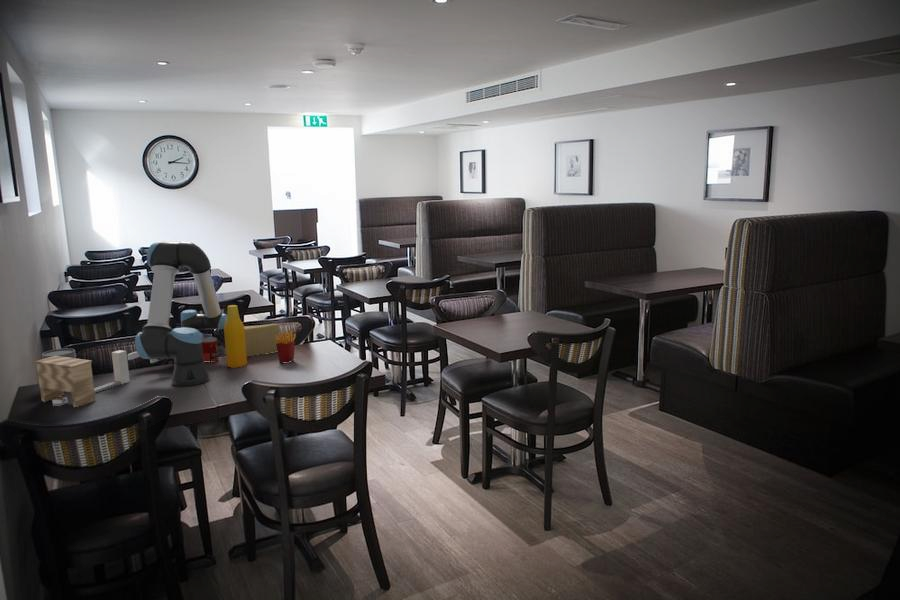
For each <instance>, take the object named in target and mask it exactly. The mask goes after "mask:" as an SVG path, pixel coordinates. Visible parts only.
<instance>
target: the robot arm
mask: <svg viewBox="0 0 900 600" xmlns="http://www.w3.org/2000/svg"><path fill="white" fill-rule="evenodd" d="M209 259H210V258H209V257H208V255H207V254H206V253H205V252H204V250H203V249H202V248H201V247H200V246H198V245H197V244H195V243H194V242H191V241H187V240H186V241H155V242H154V243H152V244H150V246H149V247H148V249H147V253H146V263H147V264H148V266H149V267H150V270H151V271H152V273H153V277H152V278H153V279H152V286H151V291H150V292H151V293H150V301H149V309H148V316H147V323H146V324H144V325H143V327H142V330H141V331H139V332H137V334H136V335H135V340H134V346H135V350H136V351H133V352H131V353H128V354H127V361H132V360H134V359H137V358H142V359H145V360H149V362H150V364H154V363H156V362H159V361H162V360H171V359H173V360H174V368H173V373H172V376H171V383H172V385H173V386H177V387H189V386H190V387H191V386H196V385H201V384H204V383H206V382H208V381H209V380H210V374H209V372H208V370H207V366H206V365H205V362H204V361H203V349H202V338H205V336H204V334H203V333H202V332H201V331H199V330H224V326H225V323H226V321H227V314H226V313H222V310H221V307H220V302H219V299H218V296H217V292H216V289H215V288H216V287H215V285H214V281H213V278H212V273H211V269H212V266H211V261H210V260H209ZM180 268H188V271H189V273H190V274H191V275H192V276H193V279H194V283H195V286H196V290H197V293H198V296H199V299H200V300H199V301H200V303H201V306H202V308H203V312H204V314H203V313H201V314H199V313H198V312H197V310H196V309H185V310H183V311H182V312H180V324H181V325H180V326H181V327H175V328H172V327H170V320H171V319H170V318H171V310H172V302H173V292H174V286H175V278H176V275H178V274H179V272H180Z"/></svg>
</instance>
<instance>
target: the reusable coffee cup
mask: <svg viewBox="0 0 900 600" xmlns="http://www.w3.org/2000/svg"><path fill="white" fill-rule="evenodd" d="M53 356H62V357H69V358H76V357H77V353H76V350H75V349H74V348H57V349H52V350H47V351H44V352H42V354H41V360H42V359H45V358H49V357H53Z"/></svg>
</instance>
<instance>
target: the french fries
mask: <svg viewBox="0 0 900 600" xmlns="http://www.w3.org/2000/svg"><path fill="white" fill-rule="evenodd" d="M280 334H281V335H280ZM278 335H279V339H278V337H277V335H275V337H276V339H277V342H278V343H276V346H277V351H278V353H277V357H278V360H279V361H278V362H279V363H280V362H289V361H291V360H293V359H294V360H295V344H296V342H295V339H296V335H297V334H296V333H294V334H293V331H292V330H290V331H289V332H288V331H283V332H282V333H281V332H280V333H278Z"/></svg>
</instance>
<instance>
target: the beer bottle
mask: <svg viewBox="0 0 900 600" xmlns="http://www.w3.org/2000/svg"><path fill="white" fill-rule="evenodd" d="M238 308H239V307H238V305H236V304H231V305H228V306H227V314H226V315H227V321H226V323H225V326H224V329H223V335H224V347H225V360H226V366H227V368H229V367H231V368H230V369H238V368H237V367H240V368H243V366H244V367H246V366H247V365H246V364H248V359H247V358H248V357H247V356H246V343H245V329H244V326H245V325H244V324H243V322H242V320H241V318H240V314H239V309H238ZM245 365H246V366H245Z"/></svg>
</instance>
